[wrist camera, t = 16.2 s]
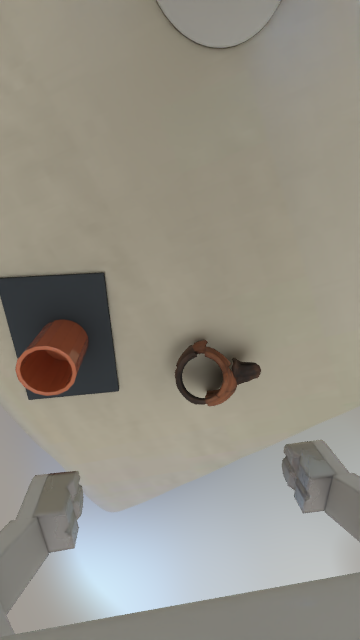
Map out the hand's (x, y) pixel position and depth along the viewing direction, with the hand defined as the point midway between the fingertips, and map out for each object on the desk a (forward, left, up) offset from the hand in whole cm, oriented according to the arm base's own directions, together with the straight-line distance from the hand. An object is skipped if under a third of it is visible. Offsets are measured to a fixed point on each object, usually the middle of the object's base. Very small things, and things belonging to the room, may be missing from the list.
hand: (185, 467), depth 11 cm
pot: (+7, -13, -28) cm, 32 cm away
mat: (+7, -13, -29) cm, 33 cm away
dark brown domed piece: (+13, +8, -29) cm, 33 cm away
